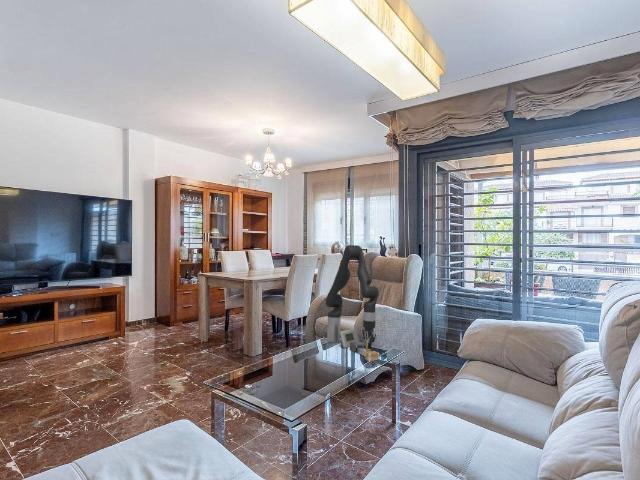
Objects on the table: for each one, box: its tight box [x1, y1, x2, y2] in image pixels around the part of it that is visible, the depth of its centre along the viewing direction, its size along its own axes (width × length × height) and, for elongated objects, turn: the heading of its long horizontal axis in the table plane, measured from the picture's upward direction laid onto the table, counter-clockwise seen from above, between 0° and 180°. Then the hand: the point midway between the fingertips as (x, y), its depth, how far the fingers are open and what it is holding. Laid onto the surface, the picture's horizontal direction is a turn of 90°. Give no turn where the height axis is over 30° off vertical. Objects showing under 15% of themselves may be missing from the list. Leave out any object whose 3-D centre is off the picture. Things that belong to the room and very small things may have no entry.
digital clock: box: [339, 328, 360, 349], centre depth 243 cm, size 16×9×11 cm, turn 125°
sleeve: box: [349, 341, 365, 353], centre depth 231 cm, size 7×6×5 cm
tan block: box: [364, 350, 380, 362], centre depth 212 cm, size 5×7×4 cm
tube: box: [356, 339, 372, 357], centre depth 221 cm, size 18×3×10 cm, turn 21°
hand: (368, 348), depth 217 cm, fingers closed on tube, 2 cm apart
